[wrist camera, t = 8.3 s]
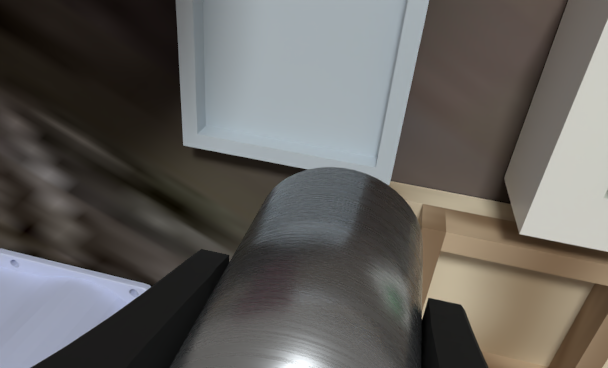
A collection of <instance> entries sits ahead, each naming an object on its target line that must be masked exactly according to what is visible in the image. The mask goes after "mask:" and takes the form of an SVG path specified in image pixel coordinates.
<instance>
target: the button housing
mask: <svg viewBox="0 0 608 368" xmlns="http://www.w3.org/2000/svg"><path fill="white" fill-rule="evenodd" d="M504 180H505V184H506V188H507V191H508V195H509V199H510V202H511V206H512V209H513V213H514V217H515V220H516V224H517V228H518V231H519V234H521V235H526V236H531V237H536V238H541V239H546V240H551V241H556V242H561V243H566V244H571V245H576V246H581V247H586V248H591V249H596V250H601V251H606V252H608V0H568V2H567V5H566V8H565V11H564V13H563V16H562V19H561V22H560V24H559V27H558V30H557V33H556V36H555V38H554V41H553V44H552V47H551V49H550V52H549V55H548V58H547V60H546V63H545V66H544V69H543V72H542V74H541V77H540V80H539V83H538V85H537V88H536V91H535V94H534V96H533V99H532V102H531V105H530V108H529V110H528V113H527V116H526V119H525V121H524V124H523V127H522V130H521V132H520V135H519V138H518V141H517V144H516V146H515V149H514V152H513V155H512V157H511V160H510V163H509V166H508V168H507V171H506V174H505V177H504Z"/></svg>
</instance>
